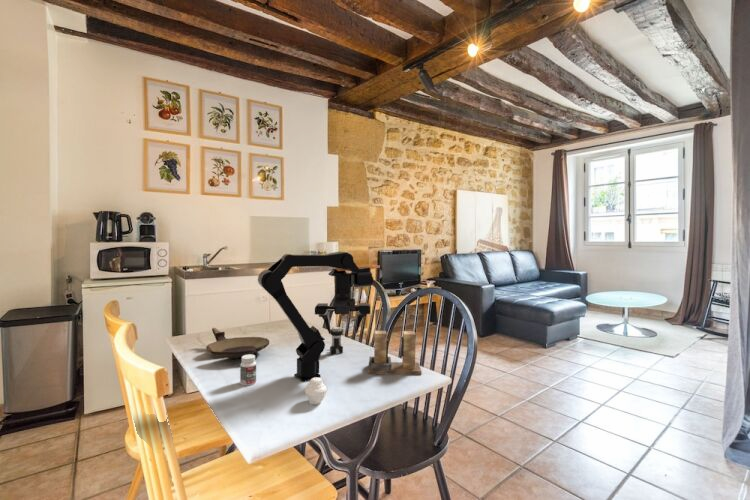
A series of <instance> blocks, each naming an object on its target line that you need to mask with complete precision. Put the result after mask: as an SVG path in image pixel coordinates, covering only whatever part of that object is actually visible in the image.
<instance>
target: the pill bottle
mask: <svg viewBox="0 0 750 500" xmlns="http://www.w3.org/2000/svg"><path fill="white" fill-rule="evenodd" d="M239 367H240V368H239V369H240V370H239V371H240V372H239V373H240V376H239V378H240V381H239V383H240V384H241V385H242V386H244V387H245V386H252V385H254V384H256V383H257V362H256V355H254V354H249V355H244V356H242V357H241V363H240V366H239Z"/></svg>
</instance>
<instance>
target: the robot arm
mask: <svg viewBox="0 0 750 500" xmlns="http://www.w3.org/2000/svg"><path fill="white" fill-rule="evenodd" d="M294 267H330V268H332V270H331V271H329V272H328V273H327V275H328V276H331V277H334V299H333V305H329V304H328V303H325V302H324V303H323V302H321V303H319V302H318V303H317V304H316V305H315V306H314V315H318V317H319V318H320V317H321V318H322V319H323V322H324V324H325V326H326V328H327V331H328V334H329V335H331V334H330V332H331V329H332V328H331V321H330V312H334V314H335V315H349V314H350V312H357V316H356V317H357V319H356V325H355V334H358V333H359V329H360V327H361V322H362V321H363V318H364V317H367V315H371V304H370V302H369V303H368V302H358V305H356V298H352V286H353V287H354V288H365V287H367V288H368V287H371V286H372V285H373V283H374V276H373V272H371V268H370V267H368V266H365V267H358V265H357V264H356V262H355V261H354V256H353V255H352V254H351V253H350V252H345V251H334V252H330V253H326V254H290V253H286V254H283V255H282V256H281V257H280V258H279V260H277V261H276V262H274V264H272V265H271V266H270V267H269V268H268V269H266V270H262V271H260V273H259V274H258V276H257V282H258V284H259V285H260V287H262V289H264V291H265V292H267V293H268V294H269V295H270V296H271V297H272V298H273V299H274V300H275V302H276V304H278V306H279V307H280V309H281V310H282V312H283V313H284V315H285V316H286V318H287V319H288V320H289V322H290V323H291V324H292V325H293V328H294V329H295V330H296V331H297V334H298V338H299V339H300V341H301V343H299V345H298V347H297V348H296V349H295V352H296V355H297V356H298V357H297V358H296V373H294V377H295V378H297V379H298V380H300V381H302V382H308V381H310V380H311V379H312V378H315V377H317V378H320V377H322V375H321V374H320V361H319V359H320V358H321V354H322V353H323V352H324V351H325V348H326V343H325V340H326V339H325V338H324V337H323V336H322V335H321V332H320V330H319V329H318V328H316V327H315V326H314V325H312V326H311V327H310V326H309V325H308V323H307V322H306V321H305V319H304V317H303V316H302V315H301V313H300V311H299V310H298V309H297V307H296V306H295V304H294V303H293V301H292V300H291V298H290V297H289V296H288V294H287V292H286V289H285V286H284V284H283V282H282V280H283V279H284V278H285V277H286V276H287V274H288V273H289V271H290V270H291V269H292V268H294ZM338 269H340V270H338ZM347 271H348V272H347Z"/></svg>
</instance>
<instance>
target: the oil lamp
mask: <svg viewBox="0 0 750 500" xmlns="http://www.w3.org/2000/svg"><path fill="white" fill-rule="evenodd" d="M211 328H212V329H211V330H212V333H213V335H214V339H215V340H216V341H214V342H212V343H209V344H208V345H206V351H207V352H210V355H214V356H217V357H221V358H227V359H239V358H242V356H244V355H249V354H251V355H254V354H257V353H258V352H260V351H262V350H263V349H265V348H266V347H268V346H269V345H270V340H269V339H268V337H267V338H265V337H263V336H262V337H261V336H246V337H244V336H243V337H242V336H241V337H240V336H239V337H230V338H226V336H225V335H226V332H225V331H220V330H218V329H217V328H216V327H211Z"/></svg>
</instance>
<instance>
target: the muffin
mask: <svg viewBox="0 0 750 500" xmlns="http://www.w3.org/2000/svg"><path fill="white" fill-rule="evenodd" d="M308 381H309V382H308V384H307V385H306V386H305V388H304V393H305V394H304V395H305V396H306V399H308V402H309V404H311V405H313V406H315V405H320V404H321V403H322V401H323V400H324V398H325V396H326V393H327V391H328V388H327V386H326V384H324V382H323V379H322V378H320V377H318V378H317V377H315V378H312V379H311V380H308Z"/></svg>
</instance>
